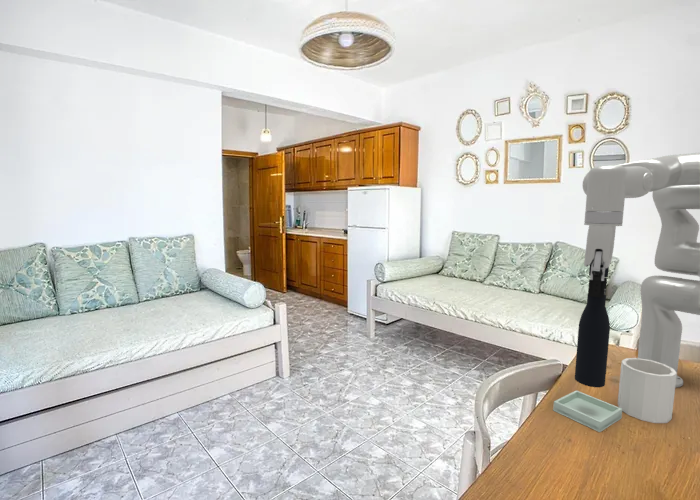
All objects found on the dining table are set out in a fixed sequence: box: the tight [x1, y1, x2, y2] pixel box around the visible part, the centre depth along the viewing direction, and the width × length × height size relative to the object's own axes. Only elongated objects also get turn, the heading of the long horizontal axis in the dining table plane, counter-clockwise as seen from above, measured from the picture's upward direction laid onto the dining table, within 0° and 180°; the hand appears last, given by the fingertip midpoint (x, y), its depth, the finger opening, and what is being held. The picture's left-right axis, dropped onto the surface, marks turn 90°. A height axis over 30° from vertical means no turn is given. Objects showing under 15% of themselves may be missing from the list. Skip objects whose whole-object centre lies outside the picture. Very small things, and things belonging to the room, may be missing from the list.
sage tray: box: [552, 390, 623, 433], centre depth 95 cm, size 11×11×2 cm
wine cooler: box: [617, 357, 678, 424], centre depth 96 cm, size 11×11×12 cm
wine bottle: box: [574, 262, 611, 388], centre depth 92 cm, size 6×6×30 cm
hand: (596, 294), depth 91 cm, fingers closed on wine bottle, 3 cm apart
